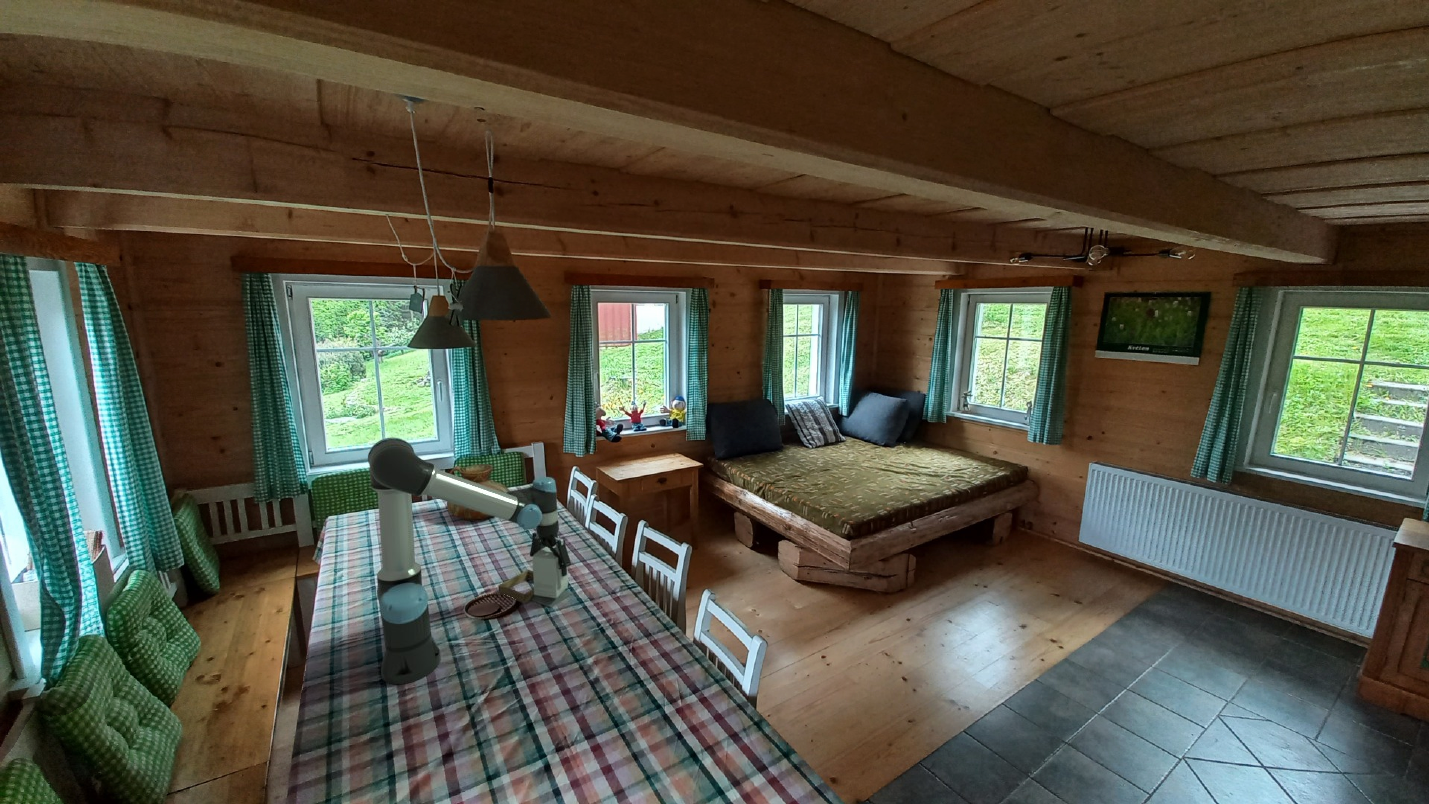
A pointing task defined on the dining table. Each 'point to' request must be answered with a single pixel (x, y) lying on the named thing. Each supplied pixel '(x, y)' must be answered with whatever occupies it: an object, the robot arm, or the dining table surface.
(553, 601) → the coaster
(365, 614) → the dining table surface
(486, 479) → the jug
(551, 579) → the supplement box
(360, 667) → the dining table surface
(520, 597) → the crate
